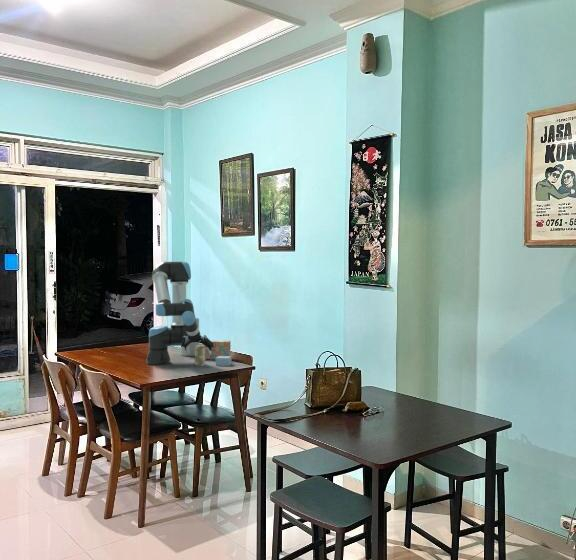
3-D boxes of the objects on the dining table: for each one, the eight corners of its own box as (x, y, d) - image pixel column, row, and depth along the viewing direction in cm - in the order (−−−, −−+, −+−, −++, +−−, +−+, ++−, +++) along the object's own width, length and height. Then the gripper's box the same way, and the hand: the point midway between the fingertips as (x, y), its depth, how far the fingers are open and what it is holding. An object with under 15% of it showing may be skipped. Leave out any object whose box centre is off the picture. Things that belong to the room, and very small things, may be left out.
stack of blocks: (196, 359, 383) (196, 341, 382) (199, 357, 389) (199, 339, 389) (228, 360, 381) (228, 341, 380) (230, 358, 387) (230, 340, 386)
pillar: (194, 365, 361) (194, 346, 360) (197, 364, 366) (197, 345, 365) (202, 365, 360) (202, 346, 360) (204, 364, 365) (204, 345, 365)
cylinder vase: (199, 355, 396) (199, 319, 395) (181, 356, 393) (181, 320, 392) (198, 353, 408) (198, 317, 407) (180, 353, 405) (180, 318, 404)
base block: (215, 365, 361) (215, 358, 361) (219, 363, 369) (219, 355, 369) (228, 366, 360) (228, 358, 360) (231, 364, 368) (231, 356, 368)
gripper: (171, 336, 344) (179, 357, 359) (212, 337, 341) (218, 358, 356) (174, 326, 349) (181, 347, 364) (214, 327, 346) (220, 348, 361)
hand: (199, 352), depth 360 cm, fingers open, 13 cm apart
